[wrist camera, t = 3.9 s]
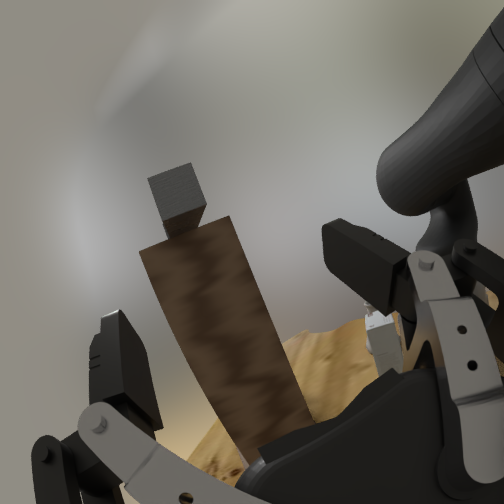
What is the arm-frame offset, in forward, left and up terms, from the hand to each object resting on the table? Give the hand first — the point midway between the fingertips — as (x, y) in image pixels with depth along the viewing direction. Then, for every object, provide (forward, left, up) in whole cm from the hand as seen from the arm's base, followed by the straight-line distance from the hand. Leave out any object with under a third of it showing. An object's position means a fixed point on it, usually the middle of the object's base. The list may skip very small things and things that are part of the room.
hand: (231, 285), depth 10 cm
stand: (0, -25, -28) cm, 38 cm away
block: (0, -20, +4) cm, 20 cm away
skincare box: (-20, -21, -28) cm, 40 cm away
